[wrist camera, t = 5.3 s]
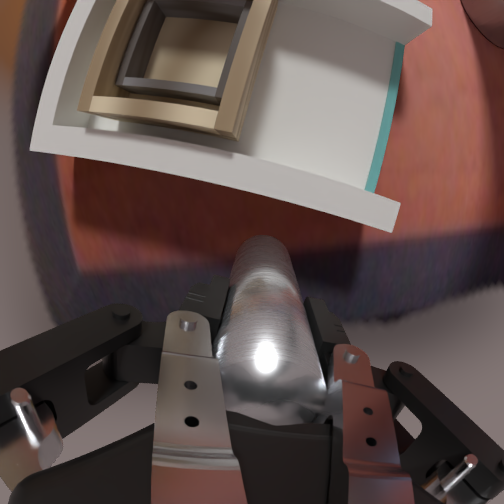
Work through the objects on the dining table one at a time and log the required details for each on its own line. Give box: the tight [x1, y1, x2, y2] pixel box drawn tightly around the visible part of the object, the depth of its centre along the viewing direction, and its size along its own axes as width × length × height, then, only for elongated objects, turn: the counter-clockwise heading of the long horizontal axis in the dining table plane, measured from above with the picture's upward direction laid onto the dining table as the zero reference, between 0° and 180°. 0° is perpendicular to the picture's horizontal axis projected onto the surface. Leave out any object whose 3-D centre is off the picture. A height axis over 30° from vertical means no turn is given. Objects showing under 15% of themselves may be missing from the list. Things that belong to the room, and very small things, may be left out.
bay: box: [30, 0, 432, 233], centre depth 17 cm, size 26×18×6 cm
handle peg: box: [212, 235, 328, 426], centre depth 13 cm, size 3×3×12 cm
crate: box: [77, 0, 278, 142], centre depth 16 cm, size 10×12×6 cm
